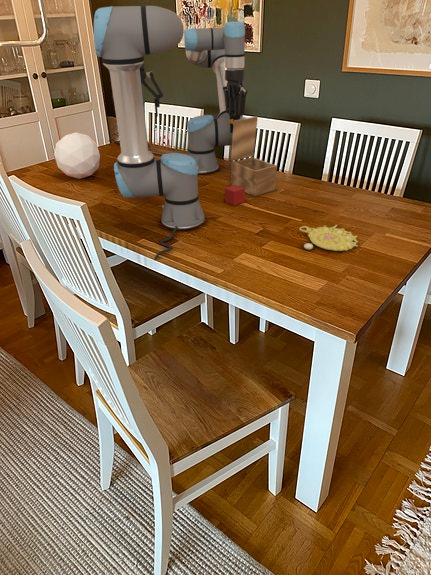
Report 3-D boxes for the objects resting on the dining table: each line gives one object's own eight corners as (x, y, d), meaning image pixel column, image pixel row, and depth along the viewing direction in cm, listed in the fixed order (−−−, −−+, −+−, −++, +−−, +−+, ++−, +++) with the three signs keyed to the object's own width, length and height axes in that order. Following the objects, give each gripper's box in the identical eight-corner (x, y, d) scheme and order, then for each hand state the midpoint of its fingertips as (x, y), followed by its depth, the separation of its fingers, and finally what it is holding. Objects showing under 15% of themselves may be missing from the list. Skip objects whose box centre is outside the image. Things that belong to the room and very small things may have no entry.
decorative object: (343, 255, 128) (285, 234, 139) (342, 262, 130) (284, 241, 140) (372, 230, 142) (317, 213, 152) (371, 237, 143) (316, 219, 153)
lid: (257, 117, 175) (245, 111, 180) (235, 121, 170) (223, 114, 175) (253, 156, 185) (241, 149, 190) (232, 161, 180) (220, 154, 185)
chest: (275, 190, 180) (276, 165, 175) (254, 196, 175) (255, 171, 170) (252, 180, 191) (252, 157, 186) (231, 185, 186) (231, 162, 181)
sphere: (87, 194, 201) (71, 168, 182) (55, 173, 206) (37, 145, 187) (114, 165, 206) (102, 136, 187) (82, 145, 210) (67, 115, 192)
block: (244, 201, 171) (244, 188, 168) (234, 205, 168) (234, 191, 165) (235, 198, 174) (235, 184, 171) (225, 201, 171) (224, 187, 169)
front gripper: (166, 56, 173) (170, 113, 184) (101, 58, 171) (110, 116, 182) (166, 57, 166) (170, 117, 178) (99, 60, 164) (108, 120, 176)
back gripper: (254, 69, 165) (253, 134, 178) (231, 66, 176) (231, 127, 188) (238, 71, 162) (238, 137, 175) (215, 68, 172) (217, 130, 185)
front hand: (140, 117), depth 180 cm, fingers open, 13 cm apart
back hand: (234, 132), depth 181 cm, fingers closed on lid, 1 cm apart
